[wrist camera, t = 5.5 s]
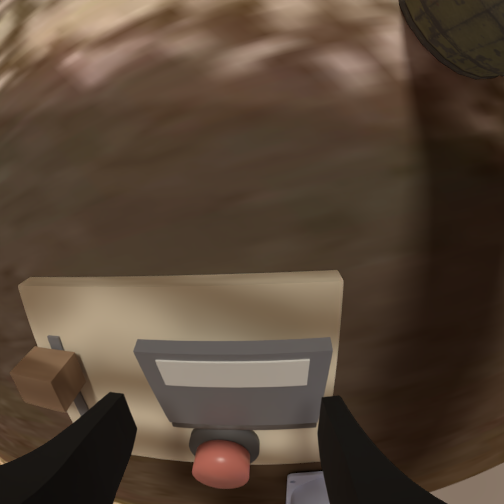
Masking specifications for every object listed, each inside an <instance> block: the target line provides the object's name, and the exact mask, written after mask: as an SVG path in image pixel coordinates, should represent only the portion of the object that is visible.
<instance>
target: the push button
mask: <svg viewBox="0 0 504 504" xmlns="http://www.w3.org/2000/svg"><path fill="white" fill-rule="evenodd" d="M249 470H250V454H249V452H248V450H247V449H246V448H244V447H243V446H241V445H239V444H237V443H235V442H231V441H226V440H211V441H206V442H204V443H202V444H200V445H199V446H198V448H197V450H196V455H195V460H194V464H193V469H192V474H193V476H194V477H195V478H196V479H197V480H198V481H199V482H201V483H203V484H205V485H207V486H210V487H214V488H221V489H232V488H237V487H240V486H243V485H245V484H246V483H247V482H248V480H249Z"/></svg>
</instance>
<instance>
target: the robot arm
mask: <svg viewBox="0 0 504 504" xmlns="http://www.w3.org/2000/svg"><path fill="white" fill-rule="evenodd" d="M136 433H137V426H136V424H135V421H134V419H133V417H132V414H131V412H130V409H129V406H128V404H127V401H126V399H125V396H124V394H123V393H115V392H109V393H108V394H106V395H105V396H104V397H103V398H102V399H101V400H99V401H98V402H97V403H96V404H95V405H94V406H93V407H91V408H90V409H89V410H88V411H87V412H86V413H84V414H83V415H82V416H81V417H80V418H79V419H77V420H76V421H75V422H74V423H73V424H71V425H70V426H69V427H67V428H66V429H65V430H64V431H62V432H61V433H60V434H58V435H57V436H56V437H54V438H53V439H51V440H50V441H48V442H47V443H45V444H44V445H42V446H40V447H39V448H37V449H35V450H34V451H32V452H30V453H28V454H26V455H24V456H22V457H20V458H17V459H15V460H13V461H11V462H8V463H5V464H3V465H0V504H113V501H114V498H115V495H116V492H117V490H118V487H119V484H120V482H121V479H122V477H123V474H124V472H125V469H126V466H127V464H128V461H129V459H130V456H131V453H132V451H133V447H134V443H135V438H136ZM317 436H318V447H319V457H320V462H321V466H322V471H317V472H305V473H292V474H289V475H288V476H287V490H286V504H447V503H445V502H443V501H442V500H440V499H438V498H436V497H435V496H433V495H432V494H430V493H429V492H427V491H426V490H425V489H423V488H422V487H420V486H419V485H417V484H416V483H415V482H413V481H412V480H411V479H410V478H408V477H407V476H406V475H405V474H404V473H402V472H401V471H400V470H399V469H398V468H397V467H396V466H395V465H394V464H393V463H392V462H390V461H389V460H388V458H387V457H386V456H385V455H384V454H383V453H382V452H381V451H380V450H379V449H378V448H377V447H376V445H375V444H374V443H373V442H372V441H371V439H370V438H369V437H368V436H367V434H366V433H365V432H364V431H363V429H362V428H361V427H360V425H359V424H358V423H357V421H356V420H355V418H354V417H353V415H352V414H351V412H350V411H349V409H348V408H347V406H346V405H345V403H344V401H343V400H342V398H341V397H340V396H328V397H322V398H321V407H320V416H319V424H318V431H317Z"/></svg>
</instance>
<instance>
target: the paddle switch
mask: <svg viewBox="0 0 504 504" xmlns="http://www.w3.org/2000/svg"><path fill="white" fill-rule="evenodd" d="M133 352H134V355H135V357H136V359H137V361H138V363H139V365H140V367H141V369H142V371H143V373H144V375H145V377H146V379H147V381H148V383H149V385H150V387H151V389H152V391H153V393H154V395H155V397H156V398H157V400H158V402H159V404H160V406H161V408H162V409H163V411H164V413H165V415H166V417H167V418H168V420H169V422H175V423H189V424H206V425H287V424H305V423H318V419H319V415H320V407H321V398H322V397H324V393H325V388H326V383H327V379H328V374H329V369H330V364H331V358H332V353H333V348H332V343H331V338H330V337H323V338H307V339H287V340H258V341H174V340H145V339H137V342H136V345H135V347H134V350H133Z"/></svg>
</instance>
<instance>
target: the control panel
mask: <svg viewBox="0 0 504 504" xmlns="http://www.w3.org/2000/svg"><path fill="white" fill-rule="evenodd" d="M18 288H19V291H20V295H21V298H22V301H23V305H24V308H25V311H26V314H27V317H28V320H29V323H30V326H31V329H32V332H33V334H34V337H35V340H36V343H37V345H38V347H42V348H48V349H55V350H63V351H71V352H75V354H76V357H77V359H78V362H79V365H80V367H81V370H82V372H83V375H84V378H85V380H86V383H85V384H84V386H83V387H82V389H81V390H80V392H79V393H78V395H77V396H76V398H75V399H74V401H73V402H72V404H71V405H70V407H69V408H68V410H67V412H68V414H69V416H70V418H71V420H72V422H73V423H74V422H75V421H76V420H77V419H79V418H80V417H81V416H82V415H83V414H84V413H86V412H87V411H88V410H89V409H90V408H91V407H93V406H94V405H95V404H96V403H97V402H98V401H99V400H101V399H102V398H103V397H104V396H105V395H106V394H108V393H109V392H115V393H123V394H124V396H125V399H126V401H127V404H128V406H129V409H130V412H131V414H132V417H133V419H134V421H135V424H136V426H137V433H136V438H135V443H134V447H133V451H132V453H131V454H132V455H138V456H145V457H152V458H159V459H167V460H176V461H186V462H194V460H195V455H196V450H197V448H198V446H199V445H200V444H202V443H204V442H206V441H211V440H226V441H231V442H235V443H237V444H239V445H241V446H243V447H244V448H246V449H247V450H248V452H249V454H250V465H263V464H292V463H307V462H319V461H320V457H319V447H318V436H317V431H318V424H319V419H318V423H305V424H287V425H206V424H189V423H175V422H169V420H168V418H167V417H166V415H165V413H164V411H163V409H162V408H161V406H160V404H159V402H158V400H157V398H156V397H155V395H154V393H153V391H152V389H151V387H150V385H149V383H148V381H147V379H146V377H145V375H144V373H143V371H142V369H141V367H140V365H139V363H138V361H137V359H136V357H135V355H134V352H133V350H134V347H135V345H136V342H137V339H145V340H174V341H258V340H287V339H307V338H323V337H330V338H331V343H332V348H333V353H332V358H331V364H330V369H329V374H328V379H327V383H326V388H325V393H324V397H328V396H333V389H334V381H335V373H336V364H337V355H338V345H339V334H340V323H341V310H342V296H343V279H342V277H341V276H340V274H339V272H338V270H327V271H303V272H278V273H250V274H218V275H179V276H125V277H30V278H28V279H27V280H25V281H24V282H22V283H21V284H19V285H18ZM319 416H320V415H319Z"/></svg>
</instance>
